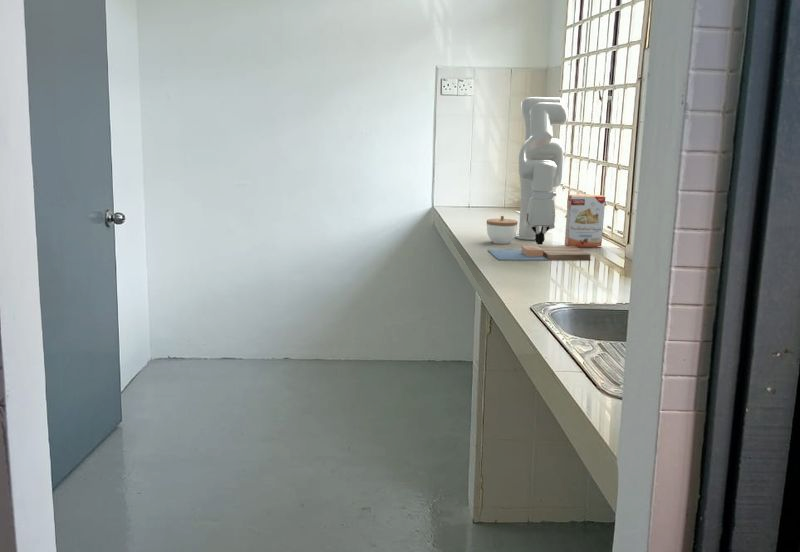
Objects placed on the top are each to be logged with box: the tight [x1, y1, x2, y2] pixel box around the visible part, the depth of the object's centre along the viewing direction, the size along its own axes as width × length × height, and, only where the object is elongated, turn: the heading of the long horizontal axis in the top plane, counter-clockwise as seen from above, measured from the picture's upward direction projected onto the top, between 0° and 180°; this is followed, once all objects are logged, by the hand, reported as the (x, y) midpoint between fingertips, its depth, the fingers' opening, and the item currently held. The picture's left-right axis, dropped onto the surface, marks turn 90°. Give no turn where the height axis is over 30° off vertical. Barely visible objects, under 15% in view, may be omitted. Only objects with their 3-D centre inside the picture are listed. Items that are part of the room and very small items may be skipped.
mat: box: [487, 249, 549, 261], centre depth 303 cm, size 20×18×1 cm
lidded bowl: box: [486, 215, 518, 245], centre depth 331 cm, size 13×13×11 cm
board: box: [537, 245, 591, 261], centre depth 304 cm, size 18×16×2 cm
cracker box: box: [564, 194, 606, 248], centre depth 324 cm, size 14×6×21 cm, turn 92°
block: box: [521, 245, 543, 257], centre depth 303 cm, size 9×6×2 cm, turn 5°
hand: (539, 243), depth 303 cm, fingers closed
